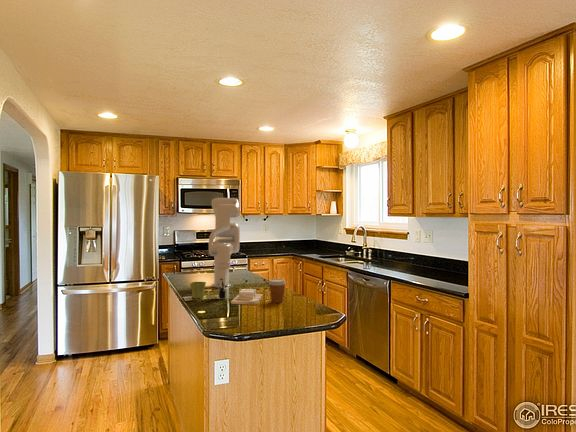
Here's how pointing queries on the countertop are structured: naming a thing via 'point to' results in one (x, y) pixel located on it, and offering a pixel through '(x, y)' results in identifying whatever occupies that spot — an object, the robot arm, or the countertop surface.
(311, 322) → the countertop surface
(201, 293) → the plant pot
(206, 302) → the countertop surface
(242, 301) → the stack base
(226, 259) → the robot arm
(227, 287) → the sage block
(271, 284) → the disposable coffee cup
